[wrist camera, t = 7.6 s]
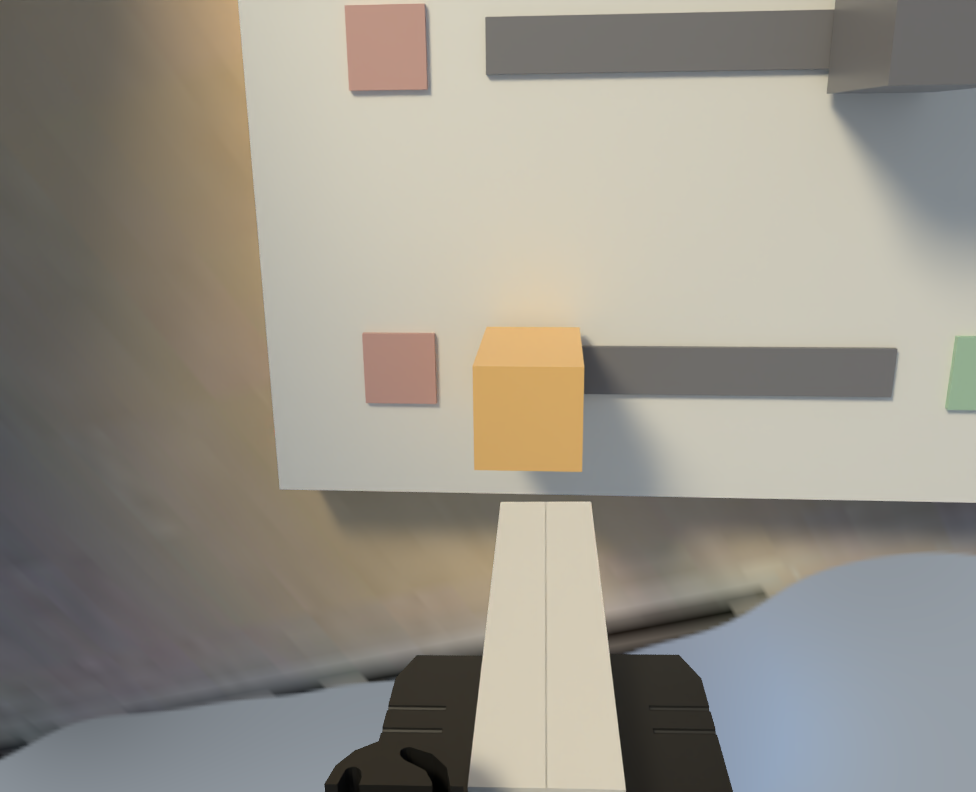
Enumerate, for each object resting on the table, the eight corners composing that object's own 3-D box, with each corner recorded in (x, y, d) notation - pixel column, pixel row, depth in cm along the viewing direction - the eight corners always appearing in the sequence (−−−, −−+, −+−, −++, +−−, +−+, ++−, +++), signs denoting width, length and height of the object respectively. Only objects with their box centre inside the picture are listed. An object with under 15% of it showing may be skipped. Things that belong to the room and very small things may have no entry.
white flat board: (303, 459, 34) (278, 491, 31) (261, -90, 29) (225, -116, 25) (1059, 471, 32) (1113, 507, 29) (1171, -118, 26) (1251, -150, 23)
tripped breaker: (487, 414, 29) (474, 470, 25) (486, 326, 28) (472, 366, 24) (577, 415, 29) (581, 471, 24) (579, 327, 28) (584, 367, 23)
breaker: (826, 93, 26) (887, 85, 21) (837, -19, 25) (903, -54, 20) (932, 92, 26) (1019, 83, 21) (947, -21, 25) (1040, -58, 20)
